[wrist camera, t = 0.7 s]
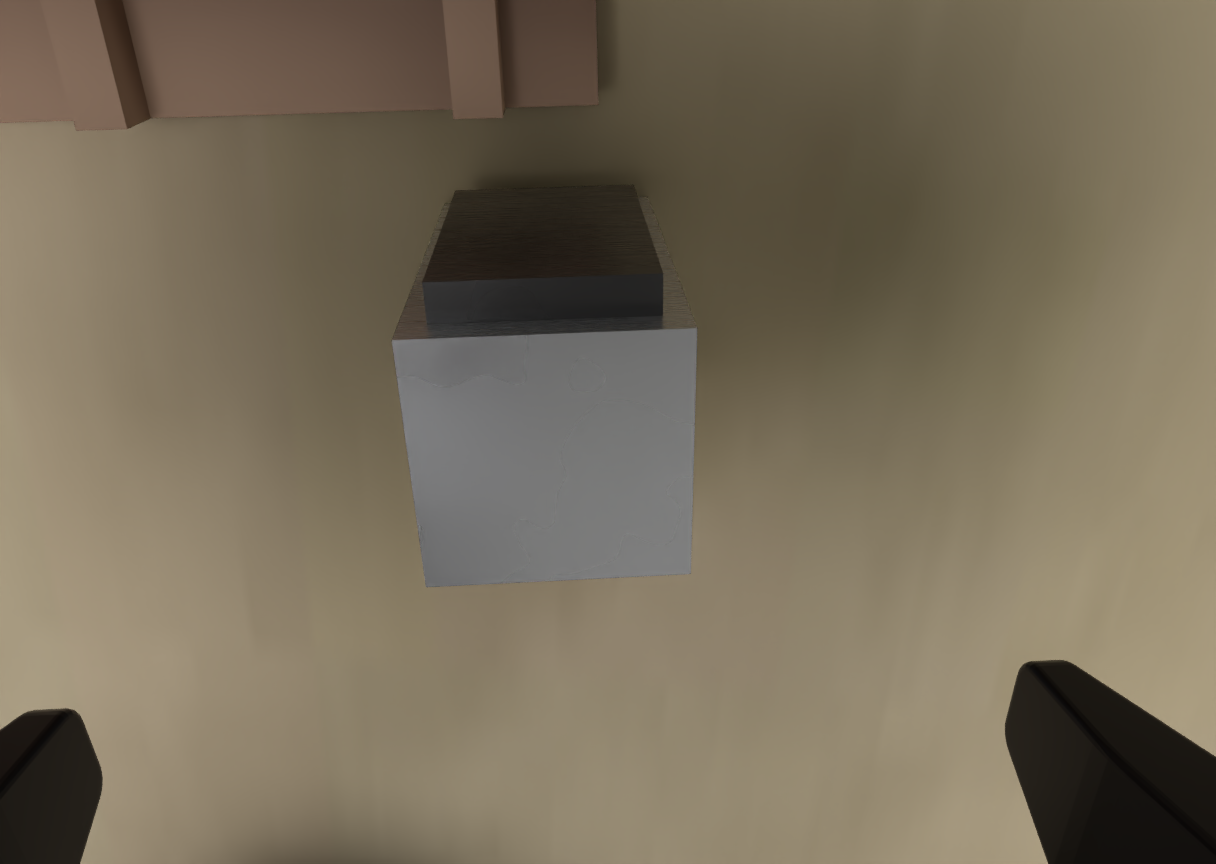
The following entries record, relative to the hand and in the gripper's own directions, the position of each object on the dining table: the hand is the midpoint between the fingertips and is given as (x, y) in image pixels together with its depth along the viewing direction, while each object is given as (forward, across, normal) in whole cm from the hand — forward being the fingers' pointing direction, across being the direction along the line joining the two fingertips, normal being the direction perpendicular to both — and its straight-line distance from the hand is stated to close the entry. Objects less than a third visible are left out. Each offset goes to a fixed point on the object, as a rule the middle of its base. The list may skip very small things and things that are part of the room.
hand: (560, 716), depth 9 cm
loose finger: (+12, 0, 0) cm, 12 cm away
